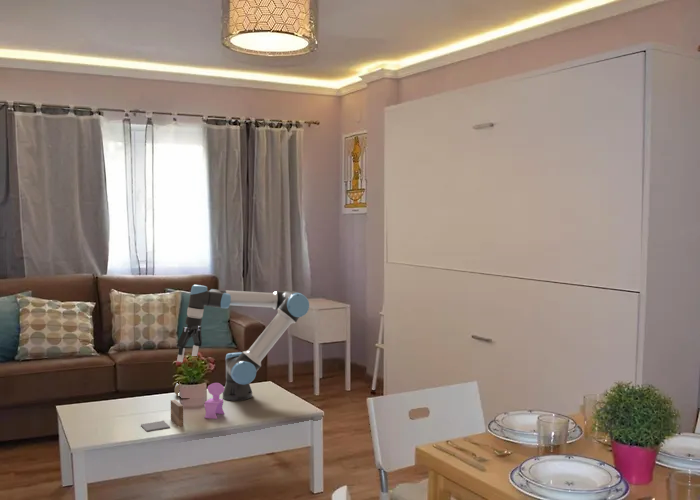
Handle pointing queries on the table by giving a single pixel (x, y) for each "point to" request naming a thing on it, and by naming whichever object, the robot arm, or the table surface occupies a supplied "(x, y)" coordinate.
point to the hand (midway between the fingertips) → (186, 360)
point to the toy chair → (214, 401)
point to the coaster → (155, 426)
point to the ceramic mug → (177, 389)
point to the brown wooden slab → (177, 412)
